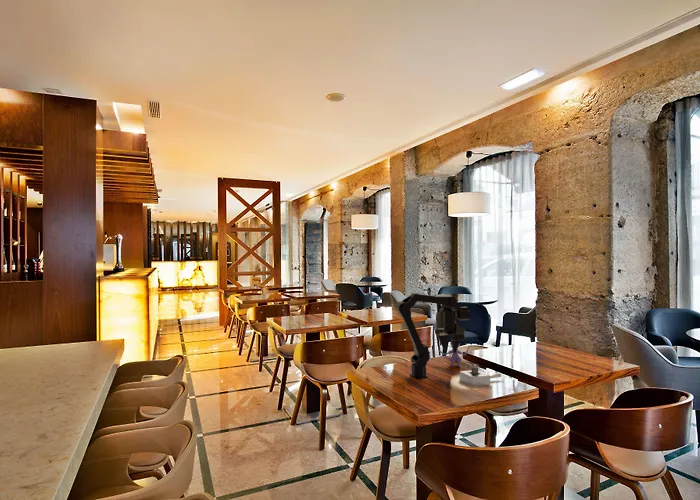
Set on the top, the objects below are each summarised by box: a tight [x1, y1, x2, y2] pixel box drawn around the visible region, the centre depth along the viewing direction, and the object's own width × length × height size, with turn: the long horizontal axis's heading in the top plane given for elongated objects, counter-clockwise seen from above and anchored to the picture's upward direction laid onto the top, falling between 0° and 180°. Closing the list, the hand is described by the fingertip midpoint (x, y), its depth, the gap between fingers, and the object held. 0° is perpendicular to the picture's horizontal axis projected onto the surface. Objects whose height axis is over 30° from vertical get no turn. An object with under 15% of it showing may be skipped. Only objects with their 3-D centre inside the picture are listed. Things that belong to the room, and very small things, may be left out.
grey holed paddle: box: [459, 369, 502, 388], centre depth 193 cm, size 20×10×4 cm, turn 110°
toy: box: [438, 340, 472, 367], centre depth 222 cm, size 18×6×15 cm, turn 84°
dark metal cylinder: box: [470, 363, 479, 375], centre depth 192 cm, size 3×3×8 cm
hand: (449, 350), depth 203 cm, fingers open, 9 cm apart
